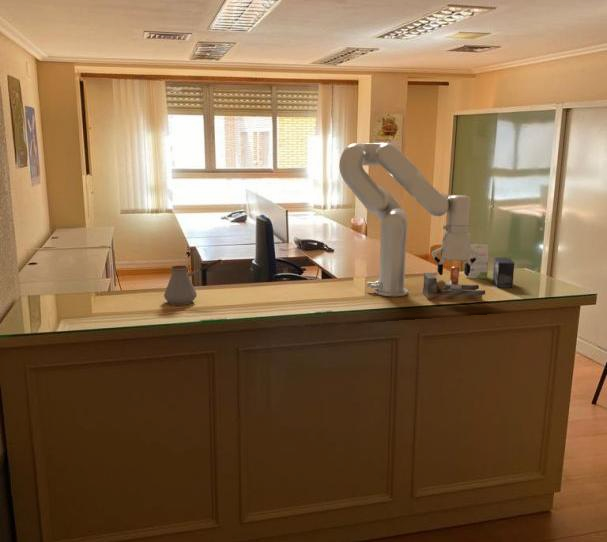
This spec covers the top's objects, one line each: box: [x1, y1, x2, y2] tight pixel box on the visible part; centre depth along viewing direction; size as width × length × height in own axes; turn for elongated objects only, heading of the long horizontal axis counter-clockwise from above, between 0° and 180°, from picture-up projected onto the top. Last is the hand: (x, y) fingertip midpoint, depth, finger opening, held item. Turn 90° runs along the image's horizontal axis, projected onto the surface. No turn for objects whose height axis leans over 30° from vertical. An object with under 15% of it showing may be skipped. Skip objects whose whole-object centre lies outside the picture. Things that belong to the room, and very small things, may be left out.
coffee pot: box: [163, 258, 224, 306], centre depth 213 cm, size 21×12×15 cm, turn 107°
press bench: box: [422, 272, 486, 301], centre depth 222 cm, size 21×9×8 cm, turn 90°
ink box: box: [464, 243, 490, 279], centre depth 252 cm, size 9×5×15 cm, turn 84°
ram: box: [446, 265, 462, 290], centre depth 222 cm, size 4×6×9 cm, turn 0°
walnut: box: [436, 279, 447, 292], centre depth 222 cm, size 4×4×4 cm
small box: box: [492, 256, 516, 289], centre depth 240 cm, size 11×6×10 cm, turn 172°
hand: (453, 274), depth 221 cm, fingers open, 9 cm apart
